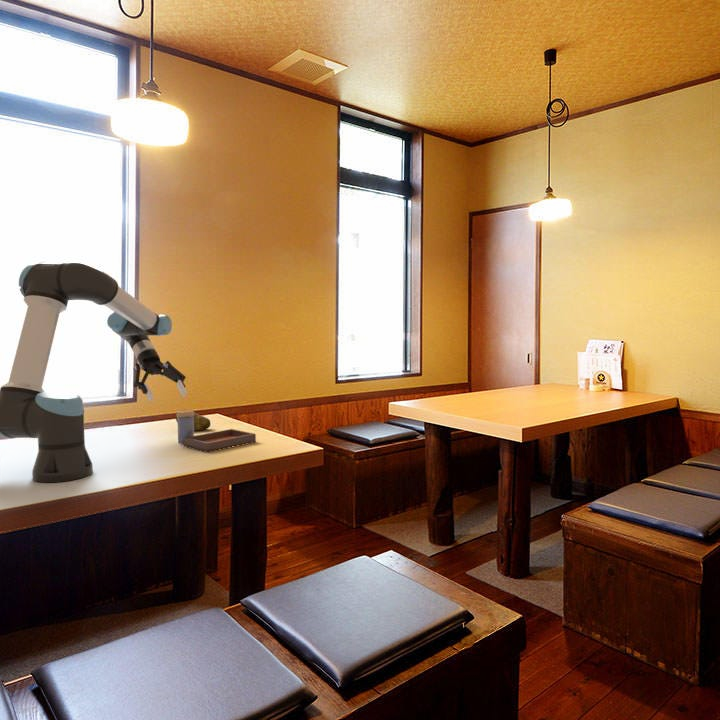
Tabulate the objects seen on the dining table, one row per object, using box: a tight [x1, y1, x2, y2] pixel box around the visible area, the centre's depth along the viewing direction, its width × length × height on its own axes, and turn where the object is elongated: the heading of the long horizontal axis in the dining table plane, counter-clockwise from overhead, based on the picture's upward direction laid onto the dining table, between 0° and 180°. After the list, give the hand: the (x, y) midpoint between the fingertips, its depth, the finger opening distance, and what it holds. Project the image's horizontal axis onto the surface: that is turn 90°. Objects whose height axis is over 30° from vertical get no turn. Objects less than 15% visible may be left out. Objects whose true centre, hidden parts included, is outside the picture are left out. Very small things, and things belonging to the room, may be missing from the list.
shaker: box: [176, 410, 195, 445], centre depth 202 cm, size 6×6×11 cm
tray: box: [183, 428, 257, 453], centre depth 199 cm, size 20×14×3 cm
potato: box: [175, 409, 211, 432], centre depth 225 cm, size 8×13×8 cm, turn 75°
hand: (169, 397), depth 209 cm, fingers open, 13 cm apart
